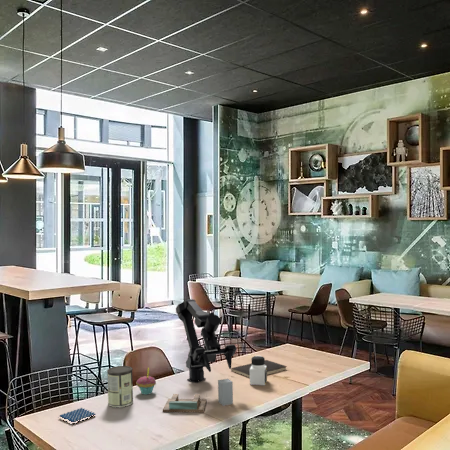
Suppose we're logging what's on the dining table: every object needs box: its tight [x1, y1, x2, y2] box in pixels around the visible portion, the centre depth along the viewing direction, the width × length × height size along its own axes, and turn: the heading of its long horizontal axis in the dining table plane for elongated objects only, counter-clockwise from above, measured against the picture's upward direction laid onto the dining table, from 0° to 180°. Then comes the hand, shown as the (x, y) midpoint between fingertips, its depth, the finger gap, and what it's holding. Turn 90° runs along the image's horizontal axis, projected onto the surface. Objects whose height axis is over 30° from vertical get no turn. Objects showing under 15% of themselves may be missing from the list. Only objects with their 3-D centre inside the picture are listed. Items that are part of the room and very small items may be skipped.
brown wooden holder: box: [162, 393, 208, 413], centre depth 194 cm, size 12×16×4 cm
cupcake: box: [135, 366, 157, 395], centre depth 212 cm, size 9×8×12 cm
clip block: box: [217, 378, 234, 407], centre depth 198 cm, size 4×4×9 cm
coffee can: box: [106, 365, 134, 408], centre depth 200 cm, size 10×10×14 cm
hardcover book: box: [230, 359, 288, 379], centre depth 242 cm, size 16×23×2 cm
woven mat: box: [59, 407, 96, 422], centre depth 185 cm, size 10×11×2 cm
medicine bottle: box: [249, 355, 268, 386], centre depth 223 cm, size 7×7×12 cm
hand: (220, 370), depth 202 cm, fingers open, 9 cm apart
